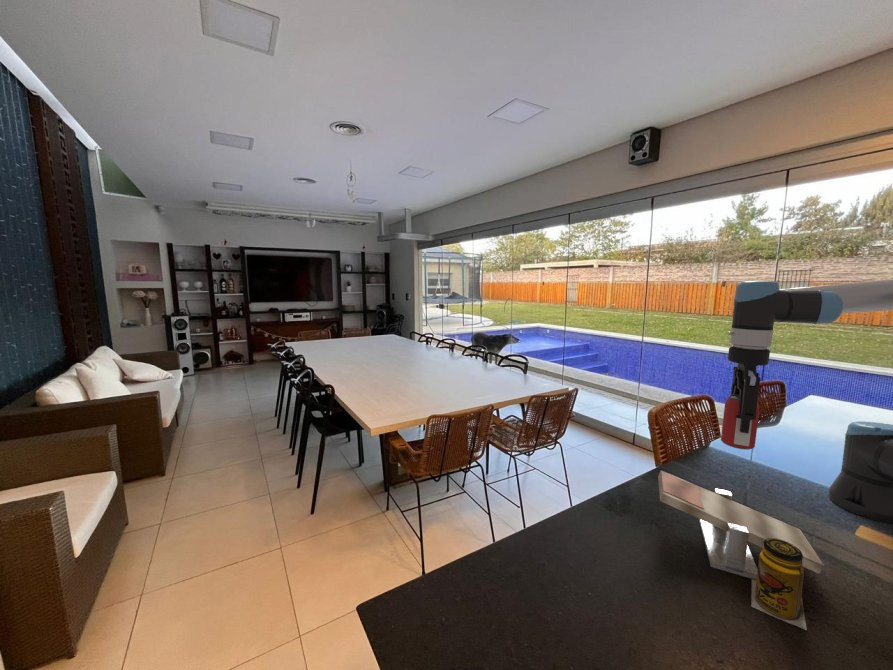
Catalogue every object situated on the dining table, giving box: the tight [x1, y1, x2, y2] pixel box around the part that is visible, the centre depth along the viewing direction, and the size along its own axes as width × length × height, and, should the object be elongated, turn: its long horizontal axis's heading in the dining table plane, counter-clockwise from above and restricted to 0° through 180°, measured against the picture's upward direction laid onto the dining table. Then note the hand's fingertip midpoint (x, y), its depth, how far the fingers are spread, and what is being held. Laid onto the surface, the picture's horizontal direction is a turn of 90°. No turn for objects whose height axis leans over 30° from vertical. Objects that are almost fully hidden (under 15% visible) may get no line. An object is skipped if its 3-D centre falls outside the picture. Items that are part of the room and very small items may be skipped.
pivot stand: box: [698, 488, 758, 581], centre depth 81 cm, size 8×17×10 cm, turn 152°
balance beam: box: [657, 469, 825, 574], centre depth 81 cm, size 28×12×2 cm, turn 62°
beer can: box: [720, 394, 760, 451], centre depth 88 cm, size 7×7×12 cm
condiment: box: [750, 538, 808, 631], centre depth 67 cm, size 7×8×12 cm
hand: (737, 439), depth 89 cm, fingers closed on beer can, 7 cm apart
